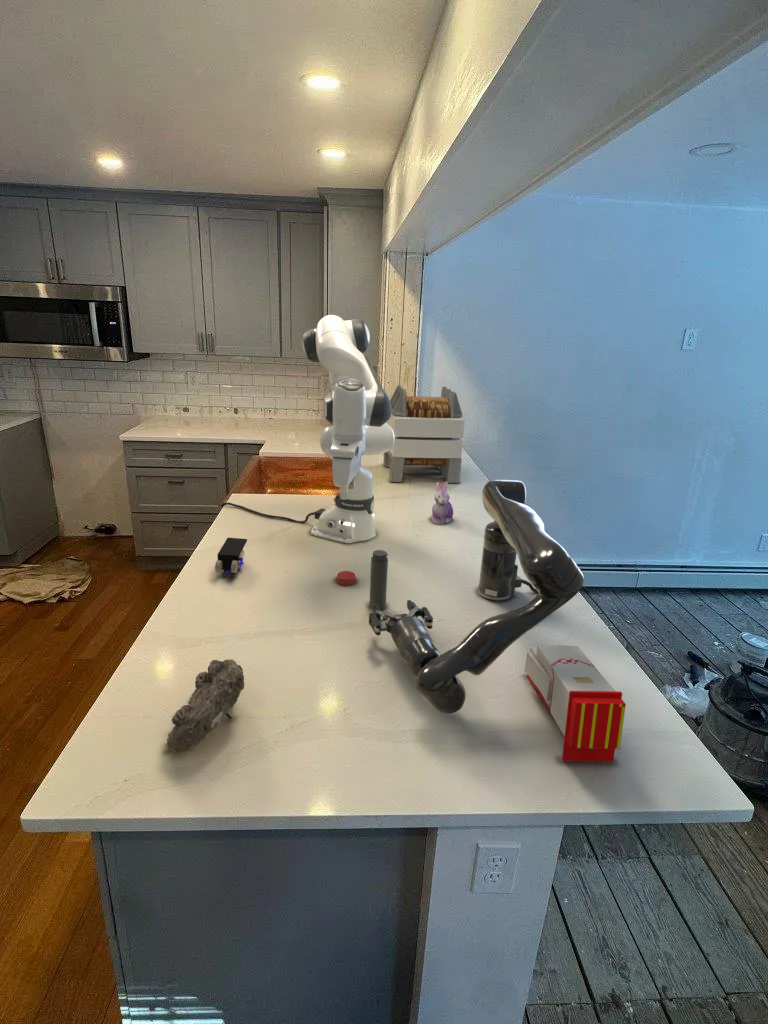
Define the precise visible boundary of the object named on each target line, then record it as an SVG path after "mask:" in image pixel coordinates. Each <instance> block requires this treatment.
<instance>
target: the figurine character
mask: <svg viewBox="0 0 768 1024" xmlns="http://www.w3.org/2000/svg"><path fill="white" fill-rule="evenodd" d="M247 542H248V538H240V537H226V539H225V541H224V543H223V544H222V546H221V547H220V549H219V551H218V552H217V560H216V562H215V564H214V572H215V573H221V577H222V578H224V577H225V576H226V574H227V573H230V574H231V573H232V574H231V578H234V577H235V575H236V573H237V572H239V571H240V567H242V566H243V565H244V564H245V562H244V558H245V551H244V547H245V546H246V544H247Z"/></svg>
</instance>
